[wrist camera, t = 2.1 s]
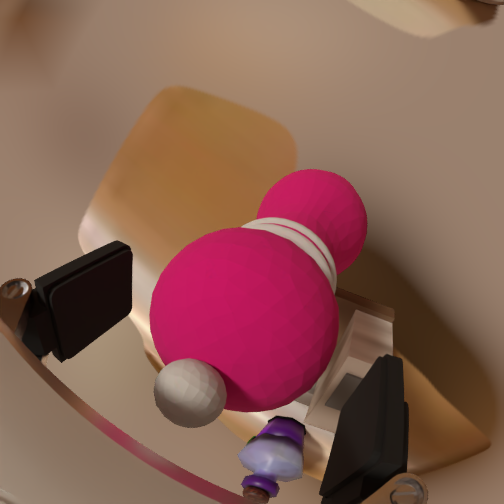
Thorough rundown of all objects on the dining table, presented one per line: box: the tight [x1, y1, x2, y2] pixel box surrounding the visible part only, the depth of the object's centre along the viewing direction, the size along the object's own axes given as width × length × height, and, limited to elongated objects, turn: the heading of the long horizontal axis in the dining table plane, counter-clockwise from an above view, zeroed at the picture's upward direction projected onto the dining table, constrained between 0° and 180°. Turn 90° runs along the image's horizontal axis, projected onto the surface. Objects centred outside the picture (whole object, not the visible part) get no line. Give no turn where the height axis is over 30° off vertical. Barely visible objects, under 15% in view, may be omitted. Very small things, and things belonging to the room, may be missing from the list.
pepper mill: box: [149, 169, 367, 428], centre depth 14 cm, size 7×7×20 cm
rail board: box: [294, 287, 395, 433], centre depth 25 cm, size 12×18×8 cm, turn 77°
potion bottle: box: [238, 416, 306, 504], centre depth 29 cm, size 9×9×12 cm
